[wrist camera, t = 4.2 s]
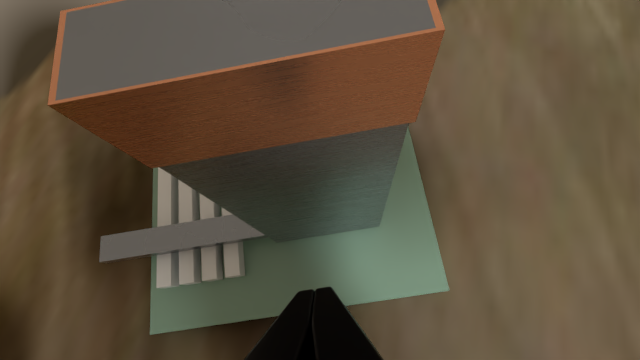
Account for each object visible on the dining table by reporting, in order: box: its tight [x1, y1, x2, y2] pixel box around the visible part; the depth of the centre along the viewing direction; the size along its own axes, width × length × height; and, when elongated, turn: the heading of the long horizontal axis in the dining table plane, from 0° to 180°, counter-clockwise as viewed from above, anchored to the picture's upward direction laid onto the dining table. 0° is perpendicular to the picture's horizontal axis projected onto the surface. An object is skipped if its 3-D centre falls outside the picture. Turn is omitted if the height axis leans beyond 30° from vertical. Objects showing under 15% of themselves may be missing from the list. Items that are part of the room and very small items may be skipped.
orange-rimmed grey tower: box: [48, 0, 445, 263], centre depth 12 cm, size 8×13×13 cm, turn 98°
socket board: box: [150, 128, 449, 335], centre depth 18 cm, size 18×14×4 cm
